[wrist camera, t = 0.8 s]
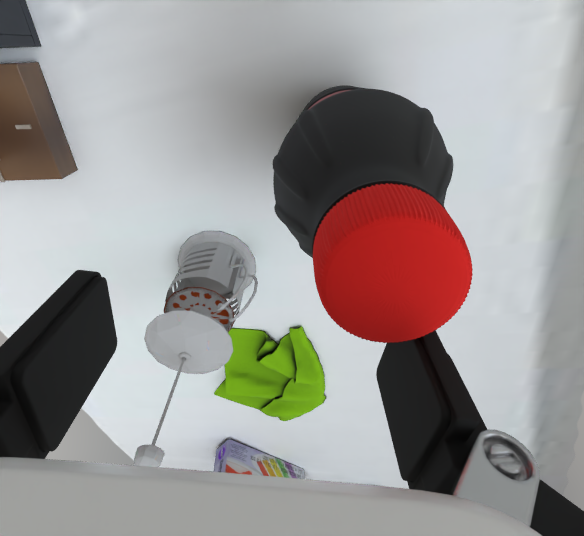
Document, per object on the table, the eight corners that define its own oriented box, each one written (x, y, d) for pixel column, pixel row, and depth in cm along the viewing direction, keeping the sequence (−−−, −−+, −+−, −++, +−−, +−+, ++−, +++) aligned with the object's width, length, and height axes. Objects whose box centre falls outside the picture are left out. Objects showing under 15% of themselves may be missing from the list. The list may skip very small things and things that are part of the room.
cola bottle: (378, 176, 36) (527, 421, 10) (298, 175, 37) (237, 405, 11) (388, 84, 32) (675, 90, 6) (297, 86, 33) (198, 97, 7)
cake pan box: (310, 470, 70) (315, 585, 55) (295, 480, 72) (295, 593, 57) (230, 434, 63) (210, 554, 48) (215, 446, 65) (192, 564, 51)
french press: (161, 256, 43) (32, 457, 22) (233, 207, 39) (162, 391, 18) (213, 307, 47) (148, 517, 26) (283, 267, 44) (271, 473, 23)
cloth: (290, 427, 62) (290, 440, 60) (179, 377, 55) (174, 390, 53) (369, 363, 53) (372, 376, 51) (247, 295, 46) (245, 306, 44)
